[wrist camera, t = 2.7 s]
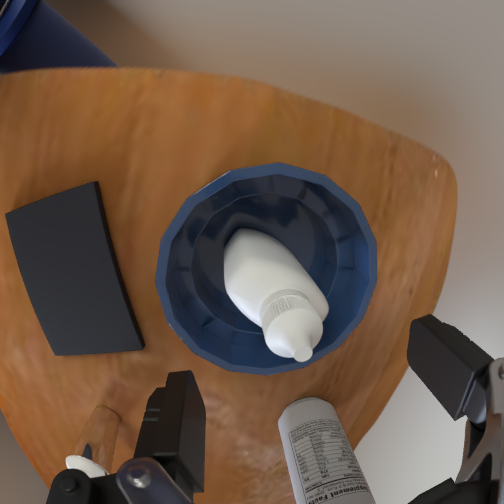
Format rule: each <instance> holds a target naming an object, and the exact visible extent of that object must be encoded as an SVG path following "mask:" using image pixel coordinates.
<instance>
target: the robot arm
mask: <svg viewBox="0 0 504 504" xmlns="http://www.w3.org/2000/svg"><path fill="white" fill-rule="evenodd" d="M11 1H12V0H0V20H1V19H2V17H3V16H4V14H5V12H6V11H7V9H8V7H9V5H10V3H11ZM407 360H408V363H409V365H410V367H411V369H412V370H413V371H414V372H415V373H416V374H417V375H418V377H419V378H420V379H421V380H422V382H424V384H425V385H426V386H427V387H428V389H429V390H430V391H431V392H432V394H433V395H434V396H435V397H436V398H437V400H438V401H439V402H440V403H441V404H442V406H443V407H444V408H445V409H446V410H447V412H448V413H449V414H450V416H451V417H452V418H453V419H454V421H456V420H458V419H459V418H461V417H463V416H464V415H466V416H467V417H468V419H467V422H466V427H465V442H464V452H463V460H462V465H461V469H460V471H459V473H458V476H457V478H456V481H455V483H454V481H453V480H452V478H449V479H447V480H445V481H444V482H442V483H440V484H438V485H437V486H435V487H433V488H431V489H429V490H427V491H425V492H424V493H422V494H420V495H418V496H417V497H416V498H415V499H414V500H412V501H411V502H409V503H408V504H504V358H498V359H496V360H494V359H493V358H492V357H491V356H490V355H488V354H487V353H486V352H485V351H484V350H483V349H481V348H480V347H479V346H478V345H476V344H475V343H474V342H473V341H470V339H469V338H468V337H467V336H466V335H463V333H462V332H461V331H459V330H458V329H457V328H455V327H454V326H451V325H449V324H446V323H444V322H443V323H442V322H441V321H439V320H438V319H437V318H436V317H434V316H433V315H431V314H428V315H426V316H423V317H420V318H417V319H414V320H413V321H412V322H411V326H410V334H409V342H408V349H407ZM143 420H144V421H142V425H141V429H140V433H139V437H138V441H137V445H136V449H135V454H134V457H133V458H132V459H129V460H128V461H126V462H124V463H123V464H122V465H121V466H120V468H119V469H118V471H117V473H115V474H110V475H105V476H99V477H92V478H90V477H89V476H88V475H87V474H86V473H85V472H83V471H82V470H79V469H75V468H71V469H66V470H63V471H61V472H60V473H59V474H57V476H56V477H55V478H54V480H53V482H52V485H51V489H50V492H49V495H48V499H47V502H46V504H194V503H193V493H200V492H204V461H205V427H206V412H205V406H204V402H203V399H202V397H201V394H200V391H199V389H198V386H197V383H196V381H195V378H194V375H193V373H192V371H191V370H187V371H178V372H170V373H169V374H168V377H167V381H166V386H165V387H162V388H156V390H155V391H154V392H153V393H152V395H151V396H150V397H149V399H148V402H147V406H146V412H145V414H144V418H143Z"/></svg>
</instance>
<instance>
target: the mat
mask: <svg viewBox="0 0 504 504" xmlns="http://www.w3.org/2000/svg"><path fill="white" fill-rule="evenodd" d="M5 216H6V221H7V225H8V229H9V234H10V238H11V241H12V245H13V249H14V252H15V256H16V259H17V263H18V266H19V269H20V272H21V275H22V278H23V281H24V284H25V287H26V290H27V292H28V295H29V298H30V300H31V303H32V305H33V308H34V310H35V313H36V315H37V318H38V320H39V322H40V325H41V327H42V329H43V331H44V334H45V336H46V338H47V340H48V342H49V344H50V346H51V348H52V350H53V352H54V354H55V356H61V355H83V354H99V353H112V352H124V351H134V350H143V348H144V346H145V344H144V341H143V339H142V336H141V333H140V331H139V328H138V325H137V322H136V320H135V317H134V314H133V311H132V308H131V305H130V303H129V300H128V297H127V293H126V290H125V287H124V284H123V281H122V278H121V274H120V271H119V268H118V264H117V261H116V257H115V254H114V250H113V246H112V242H111V239H110V235H109V231H108V227H107V222H106V218H105V214H104V209H103V205H102V200H101V195H100V190H99V185H98V181H95V182H91V183H88V184H85V185H81V186H78V187H75V188H72V189H69V190H66V191H63V192H61V193H58V194H55V195H52V196H49V197H47V198H44V199H41V200H39V201H36V202H33V203H31V204H28V205H26V206H23V207H21V208H18V209H16V210H13V211H11V212H9V213H6V214H5Z"/></svg>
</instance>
